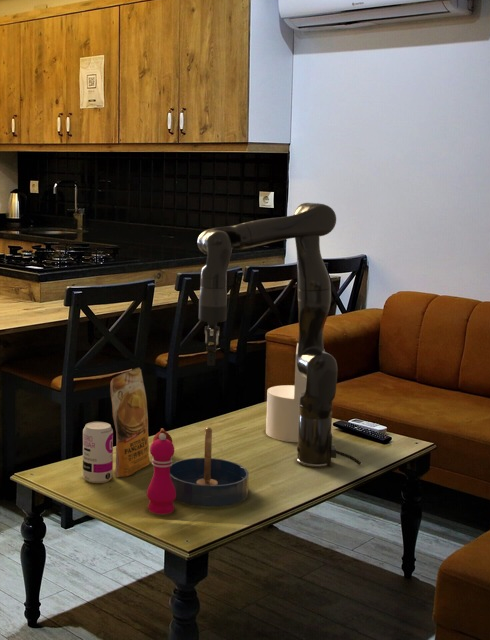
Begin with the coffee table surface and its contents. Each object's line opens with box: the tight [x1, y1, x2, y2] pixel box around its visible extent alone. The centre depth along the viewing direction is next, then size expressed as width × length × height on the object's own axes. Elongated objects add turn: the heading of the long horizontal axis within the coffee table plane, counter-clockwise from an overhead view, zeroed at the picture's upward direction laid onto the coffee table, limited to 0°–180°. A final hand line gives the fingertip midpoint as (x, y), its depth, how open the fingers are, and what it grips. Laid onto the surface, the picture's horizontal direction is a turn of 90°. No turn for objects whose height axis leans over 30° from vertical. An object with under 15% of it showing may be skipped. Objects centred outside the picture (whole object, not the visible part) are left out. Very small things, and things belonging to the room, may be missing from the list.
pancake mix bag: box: [109, 367, 151, 478], centre depth 247 cm, size 7×19×28 cm, turn 145°
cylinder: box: [265, 342, 326, 443], centre depth 281 cm, size 17×17×28 cm
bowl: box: [170, 457, 250, 508], centre depth 231 cm, size 21×21×6 cm
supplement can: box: [82, 421, 114, 484], centre depth 240 cm, size 8×8×15 cm
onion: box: [152, 428, 174, 444], centre depth 261 cm, size 6×6×8 cm
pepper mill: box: [146, 433, 176, 515], centre depth 218 cm, size 7×7×20 cm
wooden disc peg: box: [196, 426, 218, 485], centre depth 230 cm, size 6×6×17 cm
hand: (211, 361), depth 241 cm, fingers open, 8 cm apart
